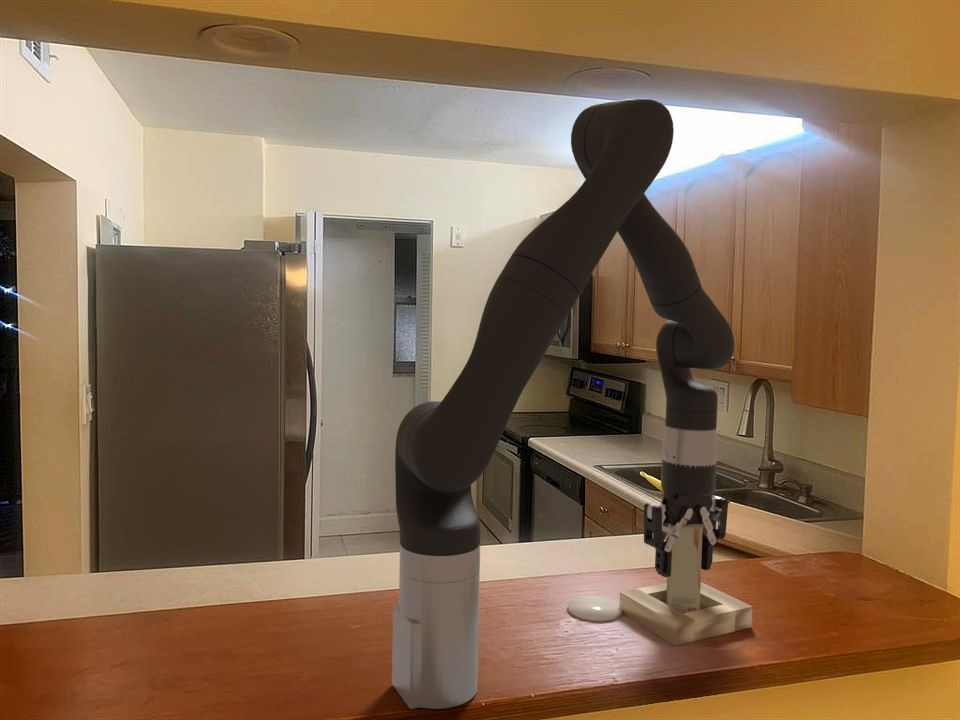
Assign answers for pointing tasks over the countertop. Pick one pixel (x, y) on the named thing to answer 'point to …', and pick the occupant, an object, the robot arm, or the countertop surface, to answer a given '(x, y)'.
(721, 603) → the pocket block
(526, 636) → the countertop surface
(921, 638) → the countertop surface
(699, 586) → the skincare box
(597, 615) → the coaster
